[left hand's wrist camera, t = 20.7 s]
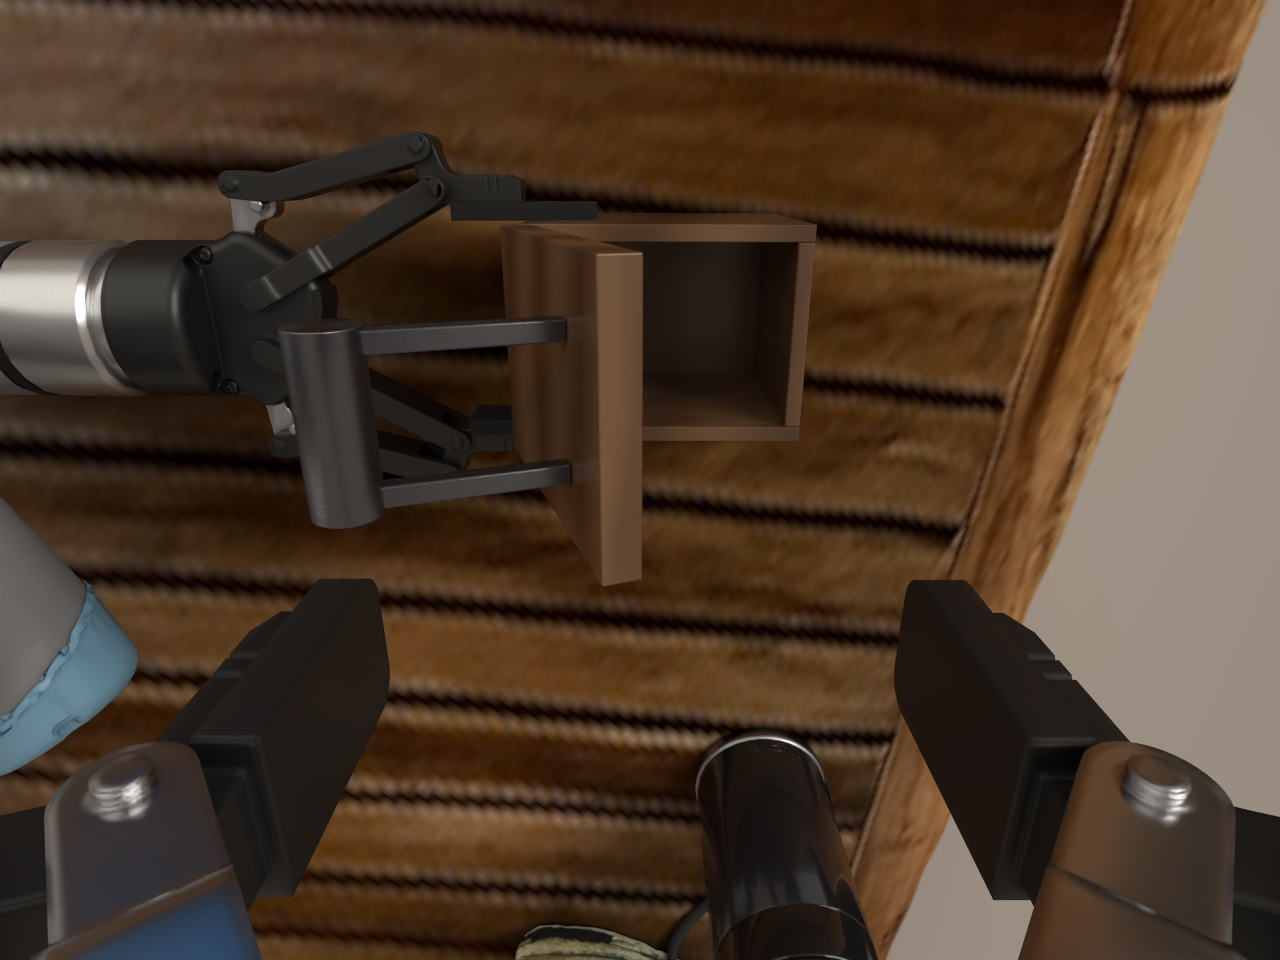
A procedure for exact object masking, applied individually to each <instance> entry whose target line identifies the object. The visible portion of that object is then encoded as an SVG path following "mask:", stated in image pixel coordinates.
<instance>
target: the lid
mask: <svg viewBox="0 0 1280 960" xmlns="http://www.w3.org/2000/svg"><path fill="white" fill-rule="evenodd" d="M500 233H501V249H502V265H503V281H504V297H505V313H506V319H489V320H471V321H453V322H436V323H418V324H400V325H382V326H365V327H363V325H362V323H361V322H359V321H356V320H350V319H314V320H304V321H297V322H292V323H288V324H284V325H282V326H280V327H278V336H279V342H280V348H281V353H282V359H283V365H284V370H285V376H286V382H287V388H288V393H289V399H290V405H291V410H292V416H293V422H294V428H295V433H296V439H297V445H298V450H299V456H300V462H301V468H302V473H303V479H304V485H305V490H306V496H307V502H308V508H309V513H310V519H311V521H312V522H313V524H315V525H317V526H319V527H323V528H329V529H344V528H352V527H358V526H362V525H365V524H368V523H371V522H373V521H375V520H377V519H379V518H381V517H382V516H383V515H384V514H385V513H386V510H387V508H390V507H398V506H406V505H413V504H421V503H429V502H436V501H444V500H452V499H460V498H467V497H475V496H483V495H490V494H498V493H506V492H513V491H521V490H529V489H536V488H540V489H541V490H542V492H543V493H544V495H545V497H546V498H547V500H548V501H549V503H550V504H551V506H552V508H553V509H554V511H555V512H556V514H557V516H558V517H559V519H560V520H561V522H562V523H563V525H564V527H565V528H566V530H567V531H568V533H569V535H570V536H571V538H572V539H573V541H574V542H575V544H576V546H577V547H578V549H579V550H580V552H581V553H582V555H583V557H584V558H585V560H586V561H587V563H588V565H589V566H590V568H591V569H592V571H593V572H594V574H595V576H596V577H597V579H598V580H599V582H600V584H601V585H602V586H608V585H614V584H620V583H625V582H631V581H637V580H641V579H642V394H643V253H642V252H639V251H635V250H631V249H627V248H623V247H619V246H615V245H611V244H607V243H603V242H599V241H595V240H591V239H587V238H582V237H578V236H574V235H570V234H566V233H562V232H558V231H554V230H550V229H546V228H542V227H538V226H534V225H530V224H529V225H500ZM498 346H508V360H509V376H510V392H511V408H512V424H513V440H514V447H515V449H516V451H517V452H518V454H519V455H520V457H521V459H522V460H523V462H524V463H523V464H514V465H506V466H497V467H489V468H480V469H472V470H464V471H455V472H447V473H438V474H430V475H421V476H413V477H405V478H396V479H388V480H383V475H382V467H381V460H380V452H379V445H378V437H377V430H376V422H375V415H374V407H373V400H372V392H371V385H370V377H369V370H368V362H367V355H381V354H395V353H410V352H425V351H439V350H454V349H469V348H484V347H498Z"/></svg>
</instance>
